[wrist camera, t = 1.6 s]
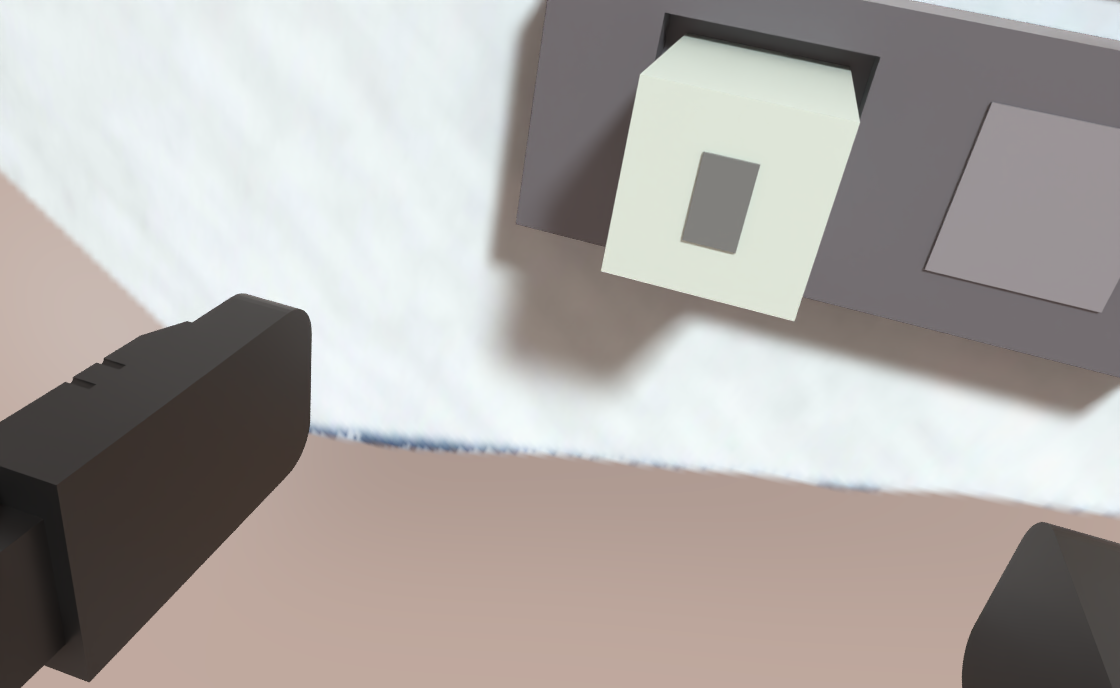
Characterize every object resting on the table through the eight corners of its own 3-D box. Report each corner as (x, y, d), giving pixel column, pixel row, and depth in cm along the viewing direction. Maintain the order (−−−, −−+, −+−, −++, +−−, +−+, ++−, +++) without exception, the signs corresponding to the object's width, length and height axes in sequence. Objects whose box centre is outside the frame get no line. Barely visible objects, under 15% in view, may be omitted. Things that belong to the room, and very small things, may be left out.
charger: (652, 187, 26) (600, 272, 20) (686, 33, 24) (639, 75, 17) (800, 223, 25) (794, 322, 19) (849, 67, 23) (860, 123, 17)
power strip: (544, 194, 29) (507, 232, 25) (585, -64, 25) (547, -60, 22) (1571, 447, 24) (1695, 537, 21) (1817, 176, 20) (2021, 230, 17)
